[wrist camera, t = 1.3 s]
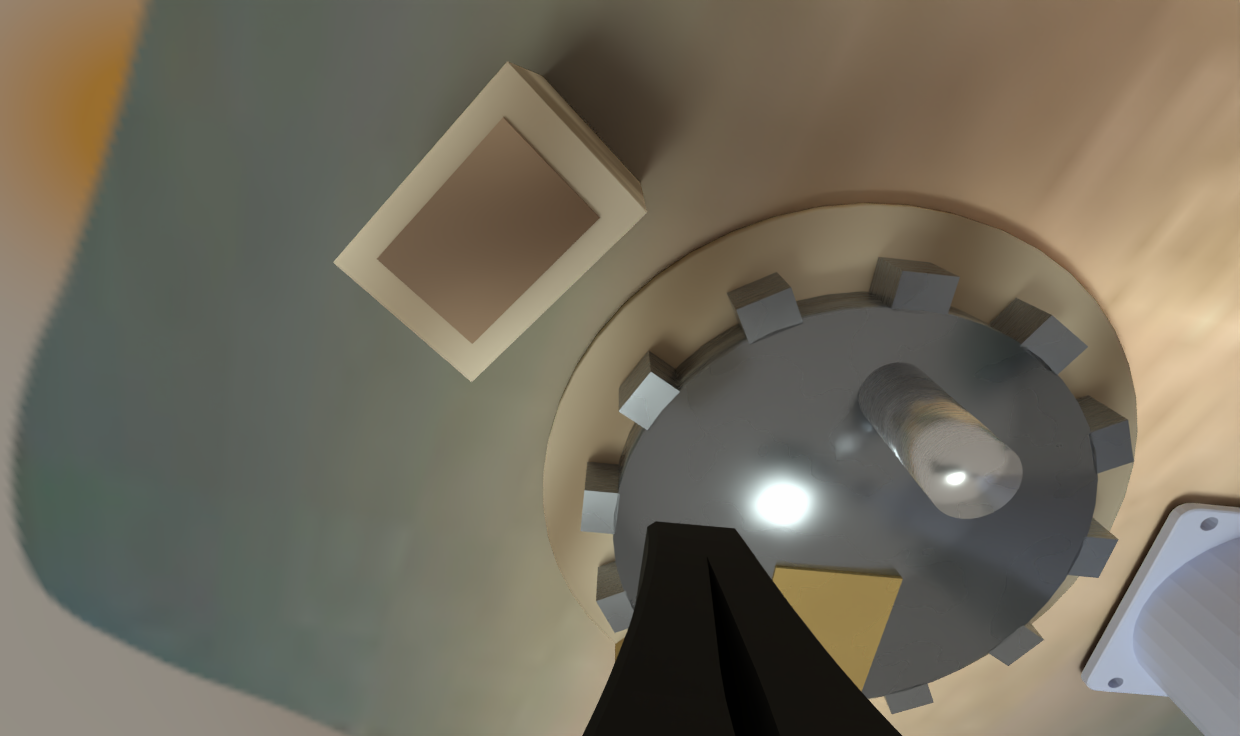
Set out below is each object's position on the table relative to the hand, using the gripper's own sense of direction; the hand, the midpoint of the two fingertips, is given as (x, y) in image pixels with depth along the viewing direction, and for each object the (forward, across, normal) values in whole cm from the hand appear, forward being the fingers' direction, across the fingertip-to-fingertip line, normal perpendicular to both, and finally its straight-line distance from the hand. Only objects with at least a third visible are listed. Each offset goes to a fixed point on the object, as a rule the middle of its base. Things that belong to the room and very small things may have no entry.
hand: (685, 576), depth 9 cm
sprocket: (+9, -6, +4) cm, 12 cm away
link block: (+9, +4, -4) cm, 11 cm away
